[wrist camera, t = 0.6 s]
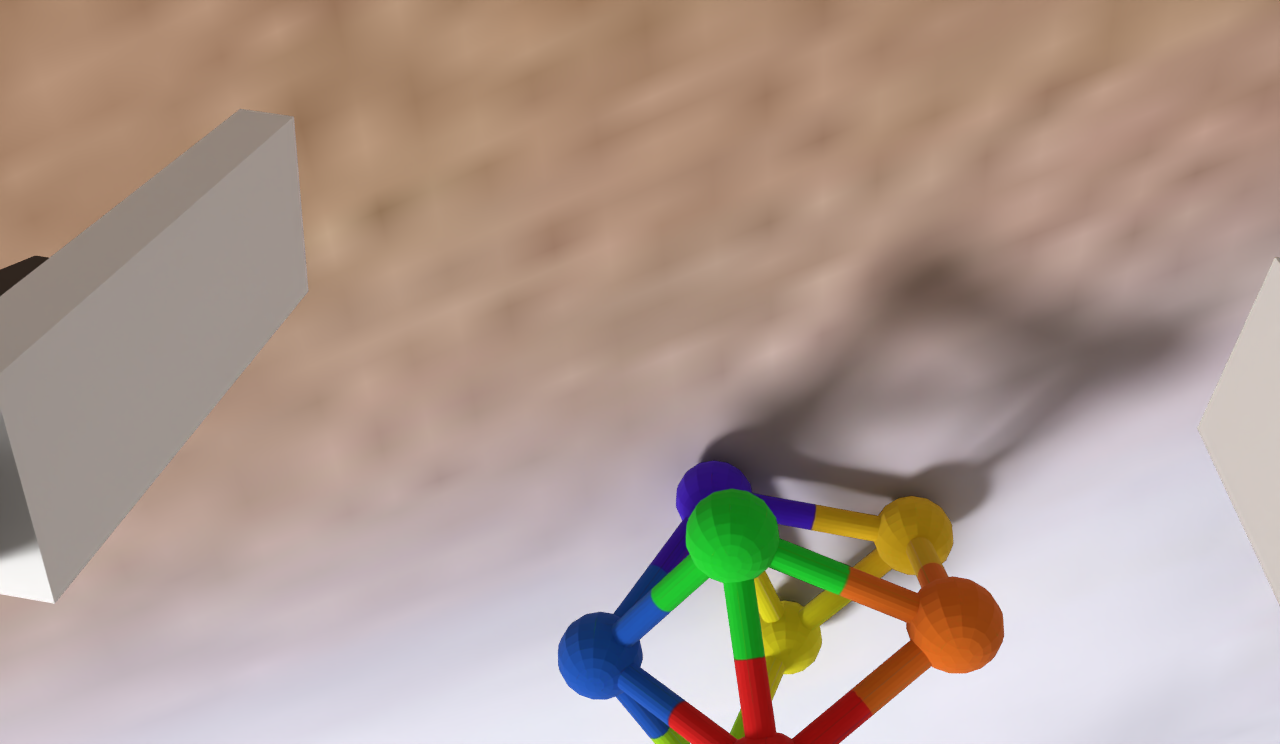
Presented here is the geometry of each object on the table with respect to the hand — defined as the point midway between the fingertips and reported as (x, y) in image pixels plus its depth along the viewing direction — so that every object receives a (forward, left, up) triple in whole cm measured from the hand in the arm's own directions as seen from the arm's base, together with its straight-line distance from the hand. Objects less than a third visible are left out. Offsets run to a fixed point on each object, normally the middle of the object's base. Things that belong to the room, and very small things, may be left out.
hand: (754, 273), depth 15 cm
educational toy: (+23, +2, -23) cm, 33 cm away
